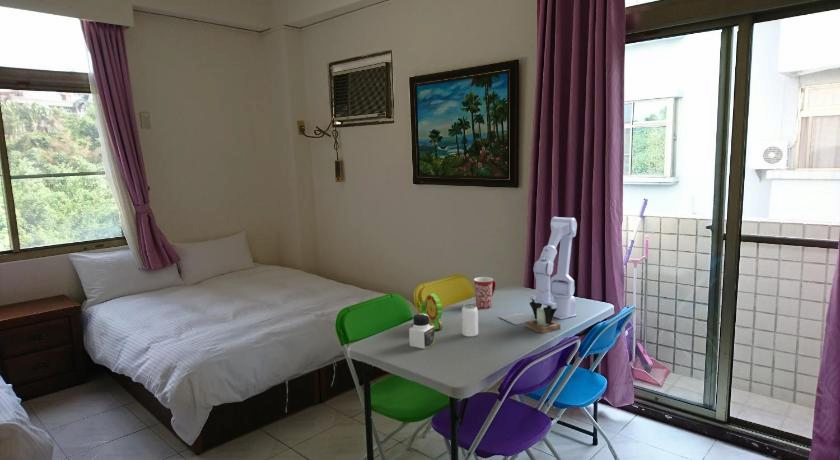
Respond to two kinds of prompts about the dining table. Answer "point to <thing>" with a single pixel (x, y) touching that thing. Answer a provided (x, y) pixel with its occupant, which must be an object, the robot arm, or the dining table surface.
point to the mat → (517, 318)
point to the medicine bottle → (421, 332)
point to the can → (469, 320)
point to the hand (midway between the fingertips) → (542, 320)
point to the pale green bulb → (541, 317)
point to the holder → (550, 327)
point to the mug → (484, 291)
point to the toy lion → (433, 310)
